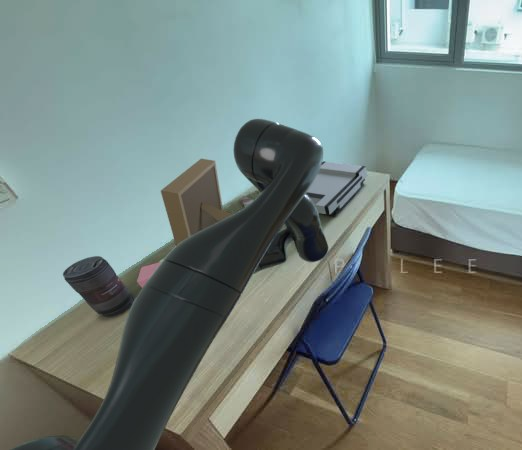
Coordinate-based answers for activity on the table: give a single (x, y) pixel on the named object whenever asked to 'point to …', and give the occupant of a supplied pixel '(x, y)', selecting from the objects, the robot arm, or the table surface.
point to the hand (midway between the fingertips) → (146, 288)
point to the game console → (336, 186)
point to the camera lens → (99, 286)
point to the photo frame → (194, 200)
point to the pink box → (146, 273)
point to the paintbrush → (246, 201)
